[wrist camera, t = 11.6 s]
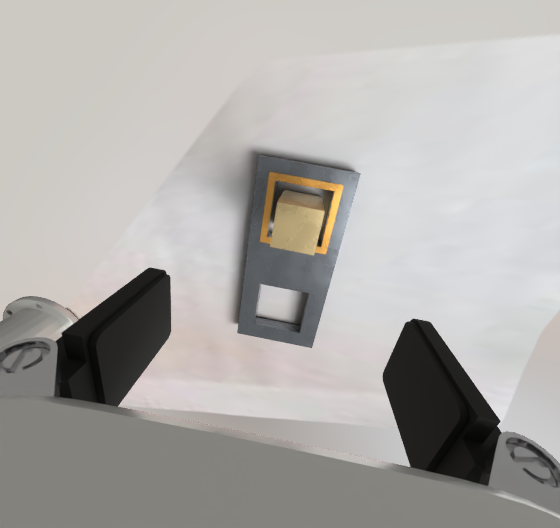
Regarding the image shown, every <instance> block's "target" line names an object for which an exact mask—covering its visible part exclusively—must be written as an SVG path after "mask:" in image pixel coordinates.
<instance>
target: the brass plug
mask: <svg viewBox="0 0 560 528" xmlns="http://www.w3.org/2000/svg"><path fill="white" fill-rule="evenodd" d="M324 213H325V209H324V205H323V201H322V197H319V196H314V195H309V194H304V193H299V192H293V191H288V190H284V192H283V193H282V195H281V197H280V198H279V200H278V202H277V207H276V213H275V219H274V225H273V231H272V237H271V243H270V247H274V248H279V249H284V250H289V251H294V252H299V253H304V254H309V255H314V254H315V250H316V246H317V242H318V238H319V234H320V230H321V226H322V222H323V217H324Z"/></svg>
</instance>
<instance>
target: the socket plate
mask: <svg viewBox="0 0 560 528" xmlns="http://www.w3.org/2000/svg"><path fill="white" fill-rule="evenodd" d="M359 177H360V173H358V172H353V171H347V170H342V169H336V168H331V167H325V166H320V165H314V164H309V163H303V162H298V161H292V160H287V159H281V158H276V157H270V156H265V155H259V156H258V164H257V172H256V181H255V189H254V198H253V206H252V214H251V223H250V231H249V240H248V248H247V257H246V265H245V273H244V282H243V290H242V299H241V307H240V315H239V324H238V332H237V333H240V334H245V335H250V336H255V337H260V338H265V339H270V340H275V341H280V342H285V343H290V344H295V345H300V346H305V347H310V348H312V346H313V342H314V338H315V335H316V331H317V328H318V324H319V321H320V317H321V313H322V310H323V306H324V303H325V299H326V295H327V292H328V288H329V285H330V281H331V278H332V274H333V270H334V267H335V263H336V260H337V256H338V253H339V249H340V245H341V242H342V238H343V235H344V231H345V227H346V224H347V220H348V217H349V213H350V210H351V206H352V202H353V199H354V195H355V192H356V188H357V184H358V181H359ZM277 181H282V182H287V183H292V184H298V185H303V186H309V187H314V188H320V189H325V190H330V191H333V193H332V197H331V201H330V205H329V209H328V213H327V218H326V222H325V226H324V230H323V234H322V238H321V242H317V246H316V250H315V254H314V255H309V254H304V253H299V252H294V251H289V250H284V249H279V248H274V247H270V243H271V237H272V233H269V230H270V223H271V216H272V210H273V203H274V197H275V190H276V184H277ZM261 284H264V285H269V286H275V287H280V288H285V289H290V290H295V291H300V292H305V293H308V296H307V300H306V304H305V308H304V312H303V316H302V320H301V324H300V326H299V325H294V324H289V323H284V322H279V321H274V320H269V319H264V318H259V317H256V315H257V308H258V302H259V295H260V289H261Z"/></svg>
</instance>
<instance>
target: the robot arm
mask: <svg viewBox="0 0 560 528" xmlns="http://www.w3.org/2000/svg"><path fill="white" fill-rule="evenodd" d="M170 333H171V293H170V276H169V275H167V274H166V271H165V270H160V269H155V268H148V269H146V270H145V271H144V272H142V273H141V274H140V275H138V276H137V277H136V278H134V279H133V280H132V281H130V282H129V283H128V284H126V285H125V286H124V287H122V288H121V289H120V290H118V291H117V292H116V293H114V294H113V295H111V296H110V297H109V298H107V299H106V300H105V301H103V302H102V303H101V304H99V305H98V306H97V307H95V308H94V309H93V310H91V311H90V312H89V313H87V314H86V315H85V316H83V317H82V318H81V319H79V320H78V319H77V318H76V317H75V316H74V315H73V314H72V313H71V312H70V311H69V310H67V309H66V308H64V307H63V306H61V305H59V304H57V303H56V302H53V301H51V300H48V299H45V298H41V297H33V296H29V297H22V298H20V299H17V300H16V301H14V302H12V303H10V304H9V305H8V306H7V307H6V309H5V311H4V314H3V321H1V322H0V528H560V464H559V463H558V461H557V460H556V459H555V458H554V457H553V456H552V455H551V454H549V453H548V452H547V451H546V450H545V449H544V448H542V447H541V446H539V445H538V444H537V443H535V442H534V441H532V440H530V439H528V438H527V437H525V436H522V435H520V434H517V433H515V432H503V433H501V431H500V430H499V428H498V427H497V425H498V424H499V423H500V420H499V419H498V417H497V416H496V414H495V413H494V411H493V410H492V409H491V407H490V406H489V404H488V403H487V402H486V400H485V399H484V397H483V396H482V394H481V393H480V392H479V390H478V389H477V387H476V386H475V385H474V383H473V382H472V380H471V379H470V377H469V376H468V375H467V373H466V372H465V370H464V369H463V368H462V366H461V365H460V363H459V362H458V360H457V359H456V358H455V356H454V355H453V353H452V352H451V351H450V349H449V348H448V346H447V345H446V344H445V342H444V341H443V339H442V338H441V336H440V335H439V334H438V332H437V331H436V329H435V328H434V327H433V325H432V324H431V323H430V322H428V321H423V320H418V319H412V320H411V321H410V322H409V321H408V322H406V323H405V325H404V328H403V330H402V332H401V334H400V336H399V339H398V341H397V343H396V345H395V348H394V350H393V352H392V354H391V356H390V359H389V361H388V363H387V365H386V367H385V370H384V372H383V382H384V385H385V389H386V392H387V395H388V398H389V401H390V404H391V407H392V410H393V413H394V416H395V420H396V423H397V426H398V429H399V432H400V435H401V438H402V441H403V444H404V447H405V450H406V454H407V457H408V460H409V463H410V466H411V467H407V466H402V465H398V464H393V463H388V462H383V461H379V460H374V459H370V458H365V457H360V456H356V455H351V454H346V453H341V452H336V451H332V450H327V449H323V448H318V447H313V446H308V445H304V444H299V443H294V442H289V441H284V440H280V439H275V438H270V437H265V436H260V435H256V434H251V433H246V432H241V431H236V430H231V429H227V428H222V427H217V426H212V425H207V424H202V423H197V422H192V421H187V420H182V419H177V418H172V417H167V416H162V415H157V414H152V413H147V412H142V411H137V410H132V409H127V408H121V407H118V405H119V404H120V403H121V401H122V400H123V399H124V397H125V396H126V395H127V393H128V392H129V390H130V389H131V388H132V386H133V385H134V384H135V382H136V381H137V380H138V378H139V377H140V376H141V374H142V373H143V372H144V370H145V369H146V368H147V366H148V365H149V363H150V362H151V361H152V359H153V358H154V357H155V355H156V354H157V353H158V351H159V350H160V349H161V347H162V346H163V345H164V343H165V342H166V341H167V339H168V338H169V336H170Z"/></svg>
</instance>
